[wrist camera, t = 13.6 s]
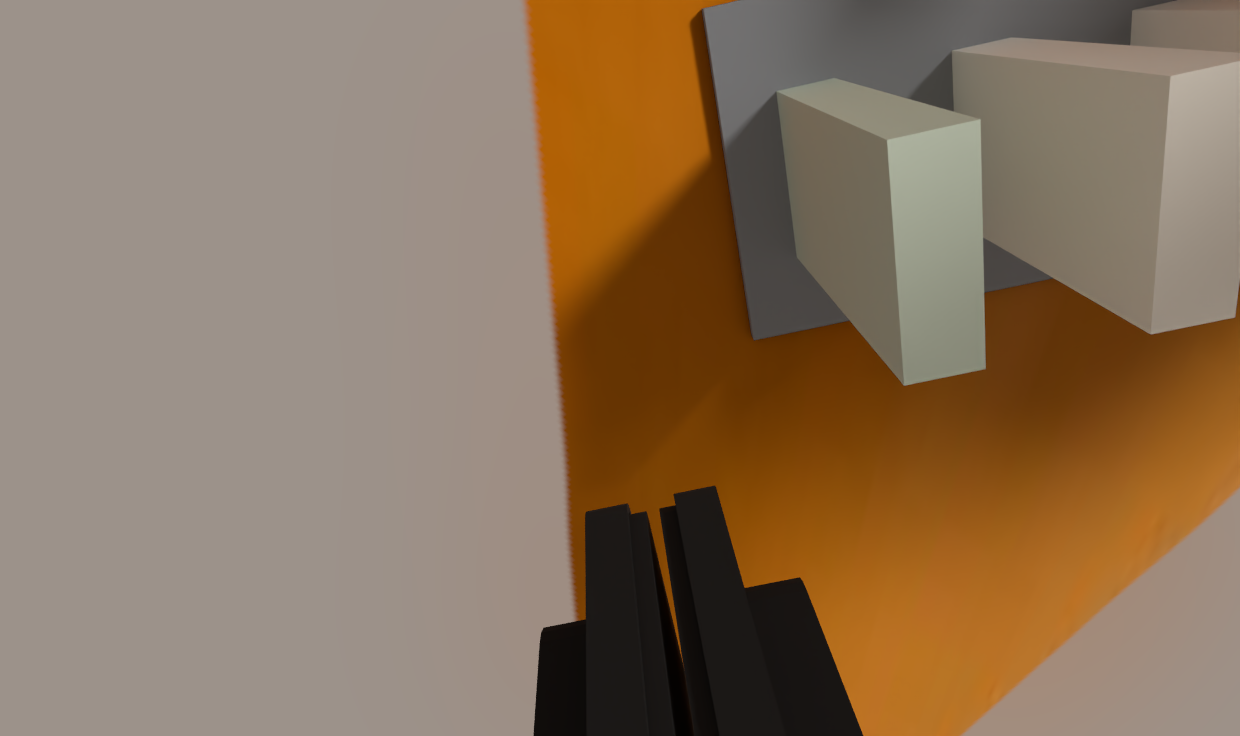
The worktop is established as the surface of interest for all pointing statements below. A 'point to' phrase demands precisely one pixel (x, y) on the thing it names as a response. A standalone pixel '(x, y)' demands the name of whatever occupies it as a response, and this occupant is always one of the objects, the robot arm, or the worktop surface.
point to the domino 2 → (1113, 170)
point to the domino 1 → (891, 221)
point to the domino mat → (864, 55)
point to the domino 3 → (1188, 25)
